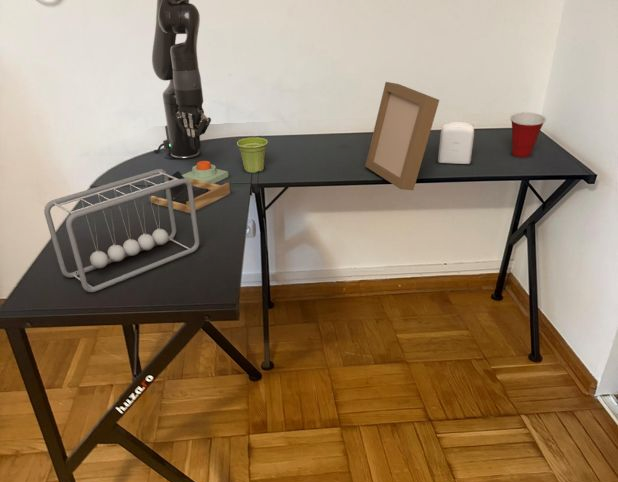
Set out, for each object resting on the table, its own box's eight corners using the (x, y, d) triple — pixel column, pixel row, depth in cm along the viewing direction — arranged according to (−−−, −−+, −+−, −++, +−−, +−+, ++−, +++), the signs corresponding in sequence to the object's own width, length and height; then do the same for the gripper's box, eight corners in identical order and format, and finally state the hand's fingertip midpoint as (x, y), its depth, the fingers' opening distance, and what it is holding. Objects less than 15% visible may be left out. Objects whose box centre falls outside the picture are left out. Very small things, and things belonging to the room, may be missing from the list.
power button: (194, 169, 180) (193, 163, 179) (203, 165, 183) (202, 160, 182) (204, 171, 178) (204, 166, 177) (213, 167, 181) (212, 162, 180)
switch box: (181, 180, 181) (180, 169, 179) (203, 171, 188) (202, 160, 186) (207, 187, 177) (205, 175, 175) (228, 176, 183) (227, 165, 181)
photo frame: (400, 192, 170) (407, 100, 156) (365, 169, 187) (368, 83, 172) (444, 184, 175) (455, 94, 160) (406, 162, 191) (412, 78, 177)
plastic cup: (501, 158, 193) (508, 119, 186) (506, 148, 201) (512, 111, 194) (536, 161, 190) (544, 122, 183) (539, 151, 198) (547, 114, 191)
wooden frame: (151, 203, 167) (149, 192, 165) (192, 184, 179) (191, 174, 177) (190, 213, 161) (188, 202, 159) (230, 193, 172) (229, 183, 170)
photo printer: (437, 163, 190) (441, 123, 183) (437, 159, 193) (442, 119, 186) (470, 165, 188) (476, 125, 181) (470, 161, 192) (476, 121, 184)
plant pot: (264, 175, 184) (263, 147, 178) (235, 174, 185) (232, 145, 180) (272, 165, 191) (270, 138, 186) (244, 164, 193) (241, 136, 188)
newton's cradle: (86, 296, 126) (64, 216, 115) (62, 279, 132) (40, 202, 121) (201, 249, 143) (191, 176, 132) (176, 237, 149) (164, 166, 138)
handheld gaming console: (199, 200, 164) (174, 169, 161) (180, 215, 166) (156, 185, 163) (211, 190, 174) (188, 162, 171) (193, 205, 176) (170, 177, 174)
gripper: (214, 85, 166) (221, 149, 176) (179, 81, 172) (188, 142, 182) (196, 91, 160) (204, 156, 171) (161, 86, 167) (170, 148, 177)
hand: (195, 148), depth 176 cm, fingers closed
